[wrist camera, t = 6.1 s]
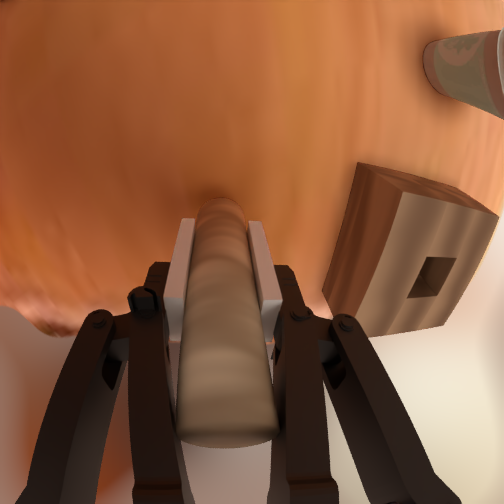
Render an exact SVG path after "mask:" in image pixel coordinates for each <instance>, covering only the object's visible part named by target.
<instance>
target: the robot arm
mask: <svg viewBox="0 0 504 504" xmlns="http://www.w3.org/2000/svg"><path fill="white" fill-rule="evenodd" d="M194 235H195V218H182V220H181V224H180V228H179V232H178V236H177V239H176V243H175V247H174V252H173V256H172V260H171V262H155V263H154V264H153V265H152V266H151V267H150V268H149V271H148V274H147V277H146V280H145V283H144V286H140V287H137V288H135V289H133V290H132V291H131V292H130V293H129V295H128V297H127V298H128V302H129V306H130V310H131V312H129V313H127V314H123V315H118V316H113V315H112V314H111V313H110V312H109V311H107V310H104V309H98V310H95V311H93V312H91V313H90V314H88V316H87V317H86V318H85V320H84V322H83V324H82V326H81V328H80V330H79V332H78V334H77V337H76V339H75V341H74V343H73V345H72V348H71V349H70V352H69V354H68V356H67V358H66V361H65V363H64V365H63V368H62V370H61V373H60V375H59V378H58V380H57V383H56V385H55V388H54V390H53V393H52V396H51V398H50V401H49V404H48V407H47V410H46V413H45V416H44V419H43V422H42V425H41V428H40V432H39V435H38V439H37V442H36V446H35V450H34V454H33V458H32V462H31V466H30V471H29V476H28V481H27V486H26V488H25V489H24V490H23V492H22V493H21V495H20V497H19V498H18V500H17V501H16V503H15V504H95V499H96V492H97V486H98V479H99V473H100V467H101V462H102V457H103V452H104V447H105V443H106V438H107V434H108V429H109V425H110V421H111V417H112V413H113V409H114V405H115V401H116V397H117V394H118V390H119V387H120V383H121V380H122V376H123V373H124V370H125V366H126V363H127V360H128V361H129V362H128V405H129V426H130V442H131V451H132V452H131V453H132V462H133V470H134V479H135V484H134V487H133V491H132V498H133V504H195V501H194V498H193V495H192V492H191V489H190V485H189V480H188V476H187V472H186V466H185V461H184V456H183V451H182V445H181V440H180V439H178V437H177V435H176V432H175V425H176V406H175V399H174V390H173V382H172V372H171V362H170V349H169V344H168V341H169V336H170V340H171V341H181V334H182V324H183V316H184V309H185V300H186V292H187V284H188V276H189V269H190V262H191V255H192V248H193V241H194ZM247 237H248V243H249V249H250V255H251V261H252V267H253V273H254V279H255V285H256V291H257V296H258V302H259V308H260V314H261V320H262V326H263V331H264V337H265V342H272V339H273V335H274V339H275V346H274V349H273V353H272V356H271V359H273V390H274V396H275V402H276V408H277V413H278V419H279V425H280V432H279V434H278V435H277V437H276V438H274V439H272V446H271V473H270V488H269V492H268V496H267V504H339V491H338V485H337V483H336V481H335V480H334V479H333V478H332V476H331V472H330V455H329V441H328V428H327V417H326V406H325V396H324V387H323V381H324V384H325V386H326V389H327V391H328V393H329V396H330V399H331V401H332V404H333V406H334V409H335V412H336V414H337V417H338V420H339V422H340V425H341V428H342V430H343V433H344V435H345V438H346V441H347V444H348V446H349V449H350V452H351V454H352V457H353V460H354V463H355V465H356V468H357V471H358V474H359V476H360V479H361V482H362V485H363V487H364V490H365V493H366V495H367V497H368V500H369V502H370V503H371V504H462V503H461V500H460V499H459V497H458V496H457V495H456V494H455V493H454V492H453V491H452V490H451V489H450V488H449V487H448V486H446V484H445V483H444V482H443V481H442V480H441V479H440V478H439V477H438V476H437V475H436V474H435V473H434V470H433V468H432V466H431V463H430V461H429V459H428V456H427V454H426V452H425V450H424V447H423V445H422V443H421V441H420V438H419V436H418V434H417V432H416V430H415V428H414V426H413V423H412V421H411V419H410V417H409V415H408V413H407V411H406V409H405V407H404V405H403V403H402V401H401V399H400V397H399V395H398V393H397V391H396V389H395V387H394V385H393V383H392V382H391V380H390V378H389V376H388V374H387V372H386V370H385V368H384V366H383V364H382V363H381V361H380V359H379V357H378V355H377V353H376V352H375V350H374V348H373V346H372V344H371V343H370V341H369V340H368V337H367V335H366V334H365V332H364V330H363V328H362V327H361V325H360V323H359V322H358V321H357V319H356V318H354V317H353V316H351V315H348V314H337V315H336V316H334V317H333V320H330V319H325V318H321V317H318V316H315V315H314V314H313V311H312V310H311V309H310V308H309V307H307V306H305V304H304V301H303V298H302V295H301V292H300V289H299V286H298V283H297V280H296V278H295V275H294V272H293V271H292V270H291V269H290V268H289V266H288V265H273V262H272V258H271V254H270V251H269V247H268V243H267V240H266V236H265V233H264V229H263V225H262V222H261V221H248V230H247Z"/></svg>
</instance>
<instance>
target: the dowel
mask: <svg viewBox="0 0 504 504" xmlns="http://www.w3.org/2000/svg"><path fill="white" fill-rule="evenodd" d="M179 357H180V358H179V369H178V384H177V401H176V402H177V403H176V425H175V432H176V435H177V437H178V439H180V440H182V441H184V442H186V443H189V444H192V445H196V446H201V447H208V448H240V447H248V446H253V445H258V444H261V443H265V442H267V441H270V440H272V439H274V438H276V437H277V435H278V434H279V432H280V425H279V419H278V413H277V408H276V402H275V396H274V390H273V384H272V378H271V373H270V367H269V361H268V355H267V349H266V343H265V337H264V331H263V326H262V320H261V314H260V308H259V302H258V296H257V291H256V285H255V279H254V273H253V267H252V261H251V255H250V249H249V243H248V237H247V231H246V225H245V219H244V214H243V211H242V209H241V207H240V206H239V205H238V204H237V203H236V202H234V201H233V200H230V199H227V198H214V199H211V200H209V201H207V202H206V203H204V204H203V205H202V207H201V208H200V210H199V212H198V215H197V221H196V227H195V235H194V241H193V248H192V255H191V262H190V269H189V276H188V284H187V292H186V300H185V309H184V316H183V324H182V334H181V346H180V356H179Z"/></svg>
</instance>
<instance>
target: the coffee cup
mask: <svg viewBox="0 0 504 504" xmlns="http://www.w3.org/2000/svg"><path fill="white" fill-rule="evenodd" d="M423 64H424V69H425V73H426V75H427V78H428V80H429V82H430V83H431V85H432V86H433V87H434V88H435V89H436V90H437V91H438V92H439V93H441V94H443V95H445V96H448V97H451V98H454V99H456V100H459V101H462V102H464V103H467V104H470V105H472V106H475V107H477V108H479V109H482V110H484V111H486V112H488V113H491V114H493V115H495V116H497V117H499V118H501V119H503V120H504V28H502V30H498V31H488V32H480V33H474V34H467V35H462V36H456V37H451V38H447V39H442V40H438V41H434V42H431V43H429V44H428V45H427V46H426V48H425V50H424V54H423Z"/></svg>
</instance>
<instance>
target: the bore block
mask: <svg viewBox="0 0 504 504" xmlns="http://www.w3.org/2000/svg"><path fill="white" fill-rule="evenodd" d="M498 219H499V216H497V215H496V214H495V213H493V212H492V211H491V210H489V209H488V208H486V207H485V206H483V205H482V204H481V203H479V202H478V201H476V200H475V199H473V198H472V197H470V196H469V195H467V194H465V193H464V192H462V191H461V190H459V189H458V188H455V187H452V186H449V185H446V184H442V183H439V182H436V181H432V180H429V179H425V178H422V177H418V176H415V175H411V174H407V173H403V172H399V171H395V170H391V169H387V168H382V167H378V166H373V165H369V164H364V163H359V162H358V163H357V168H356V172H355V177H354V181H353V185H352V189H351V193H350V197H349V201H348V205H347V209H346V213H345V216H344V220H343V224H342V227H341V231H340V235H339V238H338V241H337V245H336V248H335V252H334V255H333V258H332V261H331V265H330V268H329V271H328V274H327V277H326V280H325V283H324V286H323V289H322V292H323V294H324V296H325V299H326V301H327V303H328V305H329V308H330V310H331V312H332V315H333V317H334V316H336V315H337V314H348V315H351V316H353V317H354V318H356V319H357V321H358V322H359V323H360V325H361V327H362V328H363V330H364V332H365V334H366V335H367V337H368V338H369V337H377V336H384V335H391V334H397V333H405V332H411V331H416V330H422V329H428V328H433V327H438V326H443V325H444V323H445V322H446V320H447V319H448V317H449V316H450V314H451V313H452V311H453V310H454V308H455V306H456V305H457V303H458V302H459V300H460V298H461V296H462V295H463V293H464V291H465V290H466V288H467V286H468V284H469V282H470V280H471V279H472V277H473V275H474V273H475V271H476V269H477V267H478V265H479V263H480V261H481V259H482V257H483V255H484V253H485V250H486V248H487V246H488V244H489V241H490V239H491V237H492V234H493V232H494V229H495V227H496V224H497V222H498Z"/></svg>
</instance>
